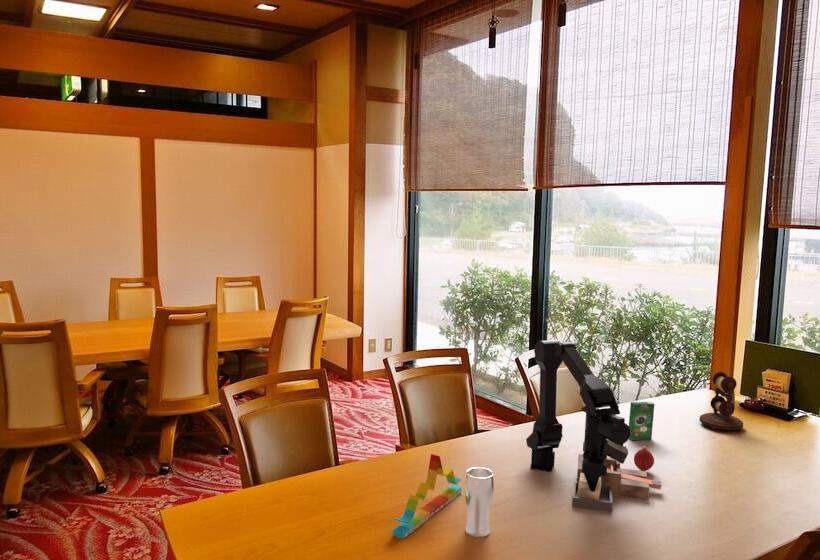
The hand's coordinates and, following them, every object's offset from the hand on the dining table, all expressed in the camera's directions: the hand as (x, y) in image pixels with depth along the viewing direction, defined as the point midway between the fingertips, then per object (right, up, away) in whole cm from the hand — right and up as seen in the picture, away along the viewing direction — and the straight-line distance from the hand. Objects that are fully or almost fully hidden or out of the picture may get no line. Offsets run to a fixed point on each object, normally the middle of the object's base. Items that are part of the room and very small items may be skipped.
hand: (592, 486), depth 177 cm
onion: (+21, -2, +21) cm, 30 cm away
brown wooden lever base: (+8, -3, +10) cm, 13 cm away
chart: (-45, -5, -8) cm, 46 cm away
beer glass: (-33, -6, -17) cm, 38 cm away
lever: (+11, -1, +9) cm, 14 cm away
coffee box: (+30, +1, +50) cm, 58 cm away
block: (-1, -2, +1) cm, 3 cm away
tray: (0, -4, 0) cm, 4 cm away
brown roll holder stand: (+66, +2, +65) cm, 92 cm away
